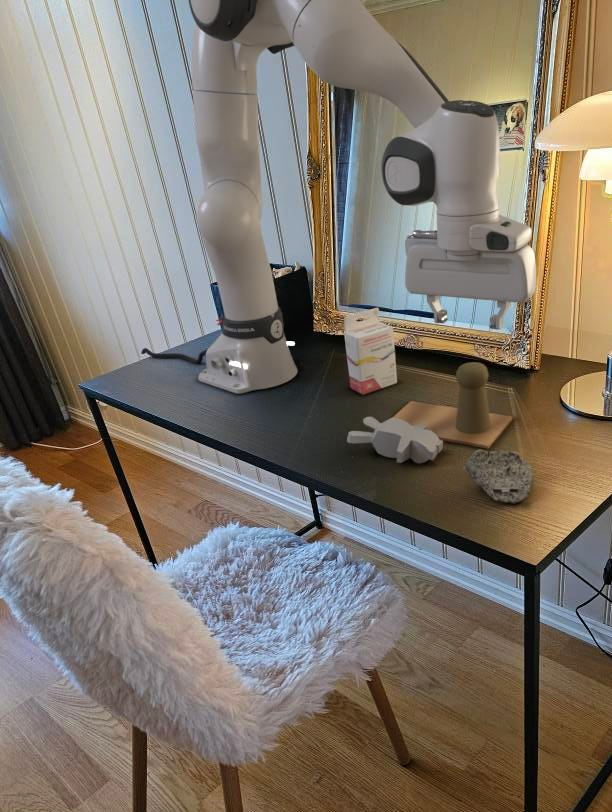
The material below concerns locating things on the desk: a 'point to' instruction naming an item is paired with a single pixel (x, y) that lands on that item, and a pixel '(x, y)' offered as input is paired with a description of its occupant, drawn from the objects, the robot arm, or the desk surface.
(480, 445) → the cork mat
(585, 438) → the desk surface
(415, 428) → the bunny figurine
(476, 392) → the pepper shaker
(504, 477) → the rock sample
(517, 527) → the desk surface
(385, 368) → the ink cartridge box
